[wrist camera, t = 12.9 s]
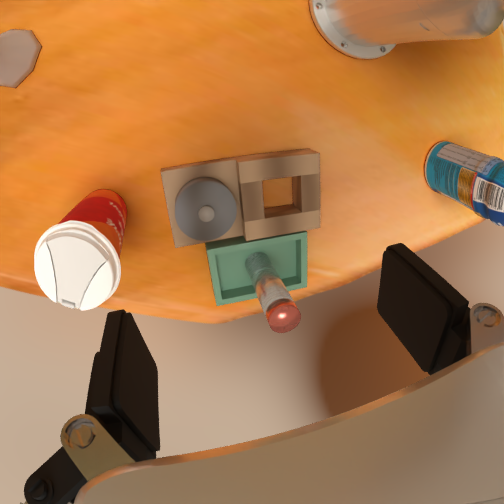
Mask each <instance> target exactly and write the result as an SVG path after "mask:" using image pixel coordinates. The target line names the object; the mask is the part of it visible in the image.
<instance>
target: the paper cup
mask: <svg viewBox="0 0 504 504" xmlns="http://www.w3.org/2000/svg"><path fill="white" fill-rule="evenodd" d="M126 218H127V209H126V205H125V203H124V201H123V199H122V198H121V197H120V196H119V195H118V194H117V193H115V192H113V191H111V190H107V189H100V190H96V191H94V192H92V193H90V194H89V195H88V196H87V197H85V198H84V199H83V200H82V201H81V202H80V203H79V204H78V205H77V206H76V207H75V208H73V209H72V210H71V211H70V212H69V213H68V214H67V215H66V216H65V217H64V218H63V219H62V220H61V221H60V222H59V223H58V224H57V225H55V226H53V227H51V228H49V229H48V230H47V231H46V232H45V233H44V234H43V235H42V236H41V238H40V239H39V241H38V243H37V246H36V249H35V254H34V261H35V262H34V269H35V275H36V278H37V281H38V283H39V285H40V287H41V289H42V290H43V292H44V293H45V294H46V295H47V296H48V297H49V298H50V299H51V300H52V301H54V302H55V303H57V301H58V302H59V303H62V305H63V306H66V307H70V308H73V309H74V308H78V309H79V308H80V310H89V309H92V308H95V307H97V306H99V305H100V304H102V303H103V302H104V301H105V300H107V299H108V298H109V297H110V296H111V295H112V294H113V293H114V292H115V290H116V288H117V287H118V284H119V281H120V276H121V266H120V260H119V259H120V253H121V247H122V242H123V236H124V230H125V225H126Z"/></svg>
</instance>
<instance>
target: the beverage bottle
mask: <svg viewBox="0 0 504 504" xmlns="http://www.w3.org/2000/svg"><path fill="white" fill-rule="evenodd" d="M425 177H426V181H427V183H428V185H429V186H430V188H431V189H432V190H434V191H436V192H438V193H440V194H443V195H445V196H447V197H449V198H451V199H453V200H455V201H457V202H459V203H460V204H462V205H464V206H466V207H468V208H470V209H471V210H473V211H474V212H475V213H476V214H477V215H478V216H480V217H482V218H485V219H490V220H491V221H492V222H493V223H494V224H496V225H499V226H504V161H503V160H502V159H500V158H498V157H495V156H489V155H486V154H483V153H480V152H477V151H474V150H471V149H468V148H465V147H462V146H459V145H456V144H454V143H451V142H447V141H443V142H439V143H437V144H436V145H435V146H434V147H433V148H432V149H431V150H430V152H429V154H428V156H427V159H426V163H425Z"/></svg>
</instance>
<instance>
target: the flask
mask: <svg viewBox="0 0 504 504" xmlns="http://www.w3.org/2000/svg"><path fill="white" fill-rule="evenodd" d="M40 49H41V45H40V43H39V42H38V40H37V39H36V37H35V35H34V34H33V32H32V31H31V30H20V29H11V30H9V31H6V32H4V33H2V34H0V86H5V87H12V88H16V87H17V86H18V85H19V84H20V83H21V82H22V81H23V80H24V79H25V78H26V77H27V76H28V75H29V74H30V73H31V72H32V71H33V69H34V66H35V63H36V60H37V57H38V54H39V51H40Z"/></svg>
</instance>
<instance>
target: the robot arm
mask: <svg viewBox="0 0 504 504" xmlns="http://www.w3.org/2000/svg"><path fill="white" fill-rule="evenodd" d="M309 4H310V12H311V16H312V19H313V21H314V23H315V26H316V28H317V29H318V31H319V32H320V34H321V35H322V36H323V37H324V38H325V40H326V41H327V42H328V43H329V44H330V45H332V46H333V47H334V48H335V49H337V50H338V51H340V52H342V53H344V54H346V55H348V56H351V57H354V58H359V59H373V58H379V57H382V56H384V55H386V54H387V53H389V52H390V51H391V50H392V49H393V48H394V47H395V45H396V44H398V43H408V42H419V41H435V40H462V39H479V38H483V37H486V36H488V35H490V34H491V33H493V32H494V31H495V30H496V29H497V28H498V27H499V25H500V24H501V22H502V21H503V19H504V0H309ZM316 6H317V7H318V9H317V8H316ZM341 44H342V46H341ZM468 304H469V301H467V300H466V299H465V298H464V297H463V296H462V295H461V294H460V293H459V292H458V291H457V290H456V289H454V288H453V287H452V286H451V285H450V284H449V283H448V282H447V281H446V280H445V279H444V278H442V277H441V276H440V275H439V274H438V273H437V272H436V271H434V270H433V269H432V268H431V267H430V266H429V265H427V264H426V263H425V262H424V261H423V260H422V259H421V258H419V257H418V256H417V255H416V254H415V253H413V252H412V251H411V250H410V249H409V248H407V247H406V246H405V245H404V244H402V243H398V244H394V245H391V246H388V247H387V248H386V251H384V253H383V259H382V270H381V279H380V288H379V296H378V303H377V308H378V312H379V314H380V315H381V316H382V318H383V319H384V321H385V322H386V323H387V324H388V326H389V327H390V328H391V329H392V331H393V332H394V333H395V335H396V336H397V337H398V338H399V340H400V341H401V342H402V344H403V345H404V346H405V348H406V349H407V350H408V351H409V353H410V354H411V355H412V357H413V358H414V360H415V361H416V362H417V363H418V365H419V366H420V367H421V369H422V370H423V371H424V372H428V374H429V375H430V376H428V377H426V378H424V379H422V380H421V381H418V382H416V383H414V384H412V385H410V386H408V387H405V388H403V389H401V390H399V391H397V392H395V393H392V394H390V395H388V396H385V397H383V398H380V399H378V400H376V401H373V402H371V403H368V404H366V405H363V406H361V407H358V408H356V409H353V410H350V411H348V412H345V413H342V414H339V415H337V416H334V417H331V418H328V419H325V420H322V421H319V422H316V423H313V424H310V425H307V426H304V427H300V428H297V429H293V430H290V431H287V432H283V433H279V434H276V435H272V436H268V437H265V438H260V439H257V440H252V441H248V442H244V443H239V444H235V445H230V446H225V447H220V448H215V449H210V450H205V451H199V452H194V453H188V454H182V455H175V456H168V457H162V458H157V459H156V451H159V450H160V437H159V414H158V413H159V412H158V371H157V366H156V363H155V361H154V359H153V357H152V356H151V353H150V352H149V350H148V347H147V345H146V343H145V341H144V340H143V337H142V335H141V333H140V331H139V329H138V327H137V325H136V323H135V321H134V318H133V316H132V314H131V313H130V312H129V313H126V311H125V310H118V311H113V312H109V313H108V315H107V319H106V324H105V329H104V333H103V338H102V342H101V347H100V352H97V353H96V354H95V357H94V362H93V367H92V372H91V378H90V384H89V390H88V396H87V402H86V409H85V414H80V415H77V416H74V417H72V418H71V419H69V420H68V421H67V422H66V423H65V425H64V426H63V428H62V431H61V435H60V437H61V443H62V445H63V446H62V447H61V448H60V449H59V450H58V451H57V452H56V453H55V454H54V455H53V456H52V457H50V458H49V460H47V461H46V462H45V463H44V464H43V465H42V466H41V467H40V468H38V469H37V470H36V471H35V472H34V473H33V474H32V475H31V476H30V477H29V478H28V479H27V481H26V483H25V487H24V495H25V498H26V502H25V503H24V504H504V316H503V314H502V312H501V311H500V310H499V309H498V308H496V307H495V306H493V305H491V304H488V303H478V304H476V305H474V306H473V307H472V308H471V309H470V308H469V307H468ZM20 504H23V503H20Z"/></svg>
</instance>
